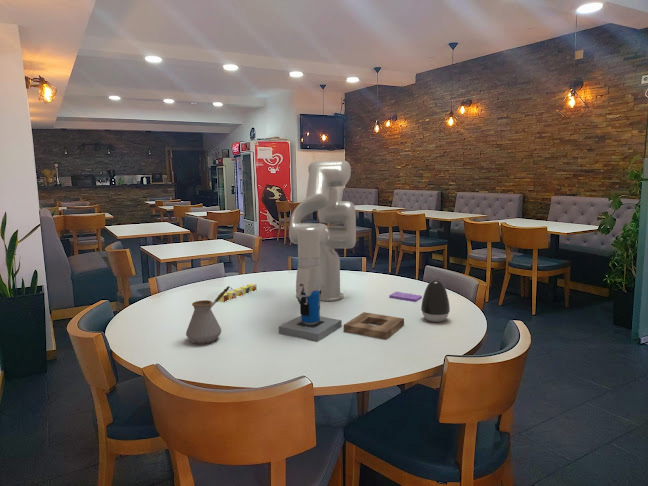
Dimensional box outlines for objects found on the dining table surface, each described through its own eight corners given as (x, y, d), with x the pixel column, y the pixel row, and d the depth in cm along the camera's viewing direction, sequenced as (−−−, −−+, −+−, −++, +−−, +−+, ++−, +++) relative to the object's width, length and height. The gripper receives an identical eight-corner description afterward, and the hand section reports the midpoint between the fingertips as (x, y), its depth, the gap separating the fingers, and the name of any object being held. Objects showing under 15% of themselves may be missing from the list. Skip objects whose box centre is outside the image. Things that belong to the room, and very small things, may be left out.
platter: (191, 301, 200) (190, 293, 200) (238, 285, 228) (238, 278, 227) (247, 310, 185) (247, 302, 184) (291, 292, 212) (291, 285, 211)
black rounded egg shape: (450, 316, 171) (451, 277, 169) (448, 325, 161) (449, 284, 159) (422, 314, 174) (423, 275, 172) (419, 322, 165) (420, 282, 162)
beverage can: (317, 325, 155) (317, 291, 153) (299, 324, 156) (298, 291, 154) (321, 319, 161) (320, 286, 159) (304, 318, 163) (303, 286, 161)
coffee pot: (206, 348, 144) (204, 303, 142) (178, 343, 149) (175, 299, 147) (245, 327, 163) (243, 287, 161) (219, 323, 168) (217, 284, 166)
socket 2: (343, 331, 157) (343, 324, 157) (363, 318, 171) (363, 312, 170) (386, 339, 149) (386, 332, 149) (404, 325, 162) (404, 318, 162)
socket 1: (278, 333, 157) (278, 326, 156) (304, 320, 170) (304, 313, 170) (318, 341, 148) (318, 334, 148) (341, 326, 162) (341, 320, 162)
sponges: (395, 295, 204) (395, 291, 203) (422, 299, 197) (422, 295, 196) (388, 299, 198) (388, 294, 198) (415, 303, 191) (415, 299, 191)
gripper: (313, 257, 165) (314, 304, 168) (285, 265, 150) (287, 317, 153) (331, 258, 161) (331, 307, 164) (304, 267, 146) (305, 321, 149)
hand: (310, 312), depth 158 cm, fingers closed on beverage can, 6 cm apart
